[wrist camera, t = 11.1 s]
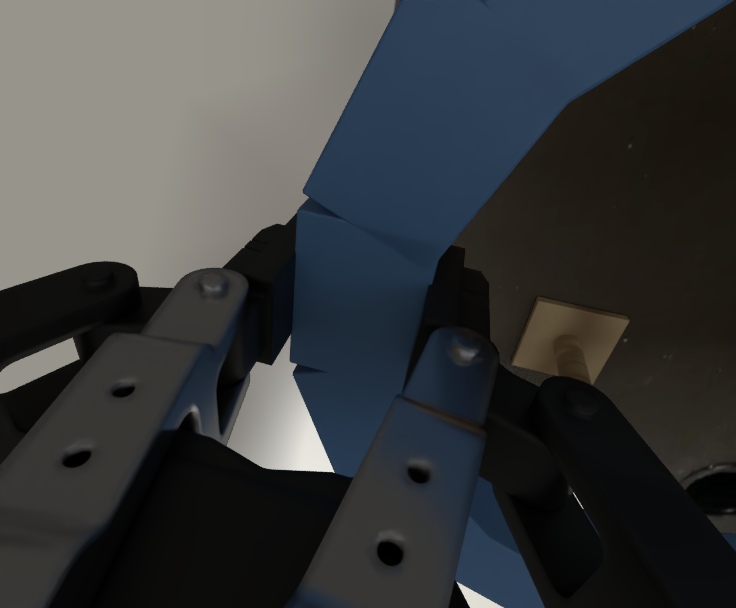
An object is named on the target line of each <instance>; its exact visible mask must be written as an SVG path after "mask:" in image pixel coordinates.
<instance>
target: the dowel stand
mask: <svg viewBox="0 0 736 608" xmlns="http://www.w3.org/2000/svg"><path fill="white" fill-rule="evenodd" d="M628 323H629V319H628V317H627V316H624V315H619V314H615V313H610V312H606V311H601V310H597V309H592V308H588V307H583V306H579V305H574V304H570V303H565V302H561V301H556V300H552V299H547V298H542V297H537V299H536V302H535V304H534V307H533V309H532V311H531V314H530V316H529V319H528V321H527V324H526V326H525V329H524V331H523V333H522V336H521V338H520V341H519V343H518V346H517V348H516V351H515V353H514V355H513V358H512V365H514V366H518V367H522V368H527V369H531V370H535V371H539V372H543V373H547V374H551V375H555V376H566V377H571V378H575V379H578V380H581V381H584V382H586V383H588V384H590V385H592V384H593V383H594V382H595V380H596V378H597V377H598V375H599V373H600V371H601V370H602V368H603V366H604V364H605V363H606V361H607V359H608V358H609V356H610V354H611V352H612V351H613V349H614V347H615V345H616V344H617V342H618V340H619V338H620V337H621V335H622V333H623V332H624V330H625V328H626V326H627V325H628Z"/></svg>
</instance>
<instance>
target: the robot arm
mask: <svg viewBox="0 0 736 608" xmlns="http://www.w3.org/2000/svg"><path fill="white" fill-rule="evenodd" d="M296 224H297V213H296V214H295V216H293V218H292V219H291V220H290V221H289V222H288V223H287V224H286V225H281V224H275V225H272V226H270V227H267V228H265V229H262V230H261V231H260V232H259V233H258V234H257V235H256V236H255V237H254V238H253V239H252V241H249V242H248V243H247V245H245V248H242V249H241V250H240V251H239V252H238V253H237V254H236V255H235V256H234V257H233V258H232V259H231V260H230V261H229V262H228V263H227V264H226V265H225V266H224V267H223V268H206V269H200V270H196V271H193V272H191V273H189V274H187V275H185V276H184V277H183V278H181V279H180V281H179V282H178V283H177V284H176V286H175V287H174V288H158V287H139V282H138V277H137V273H136V271H135V270H134V269H133V268H132V267H130V266H128V265H126V264H122V263H118V262H107V261H106V262H105V261H104V262H92V263H87V264H84V265H79V266H77V267H73V268H70V269H67V270H64V271H61V272H57V273H54V274H51V275H48V276H45V277H42V278H39V279H35V280H33V281H29V282H26V283H23V284H20V285H16V286H13V287H10V288H7V289H4V290H1V291H0V372H1V371H2V370H3V369H4V368H5V367H6V366H8V365H10V364H11V363H13V362H15V361H18V360H20V359H22V358H25V357H27V356H30V355H32V354H34V353H37V352H39V351H41V350H44V349H46V348H48V347H51V346H53V345H56V344H58V343H60V342H63V341H65V340H67V339H70V338H72V337H73V339H74V343H75V346H76V349H77V352H78V355H79V358H80V359H79V360H77V361H75V362H73V363H70V364H68V365H66V366H64V367H61V368H59V369H57V370H55V371H53V372H51V373H48V374H46V375H44V376H42V377H40V378H38V379H36V380H33V381H31V382H29V383H27V384H25V385H23V386H20V387H18V388H16V389H14V390H12V391H9V392H7V393H2V394H0V608H470V607H469V605H468V603H467V601H466V599H465V598H464V595H463V594H462V592H461V590H460V588H459V586H458V584H457V582H456V580H455V576H456V572H457V567H458V563H459V558H460V554H461V550H462V545H463V541H464V536H465V532H466V528H467V523H468V519H469V514H470V510H471V506H472V501H473V497H474V492H475V488H476V483H477V479H478V476H480V477H482V478H483V479H485V480H487V481H489V482H490V483H492V489H493V493H494V496H495V498H496V500H497V503H498V505H499V507H500V509H501V512H502V514H503V516H504V518H505V520H506V523H507V525H508V527H509V529H510V532H511V534H512V536H513V538H514V540H515V543H516V545H517V547H518V549H519V552H520V554H521V556H522V558H523V560H524V563H525V565H526V567H527V569H528V571H529V574H530V576H531V578H532V580H533V583H534V585H535V587H536V589H537V591H538V594H539V596H540V598H541V600H542V603H543V605H544V607H545V608H736V551H735V550H734V549H733V548H732V547H731V545H730V544H729V543H728V542H727V540H726V539H725V538H724V537H723V536H722V534H721V533H720V532H719V531H718V530H717V528H716V527H715V526H714V525H713V524H712V522H711V521H710V520H709V519H708V517H707V516H706V515H705V514H704V513H703V511H702V510H701V509H700V508H699V507H698V505H697V504H696V503H695V502H694V501H693V499H692V498H691V497H690V496H689V494H688V493H687V492H686V491H685V490H684V488H683V487H682V486H681V485H680V484H679V482H678V481H677V480H676V479H675V478H674V476H673V475H672V474H671V473H670V471H669V470H668V469H667V468H666V467H665V465H664V464H663V463H662V462H661V461H660V459H659V458H658V457H657V456H656V455H655V453H654V452H653V451H652V450H651V448H650V447H649V446H648V445H647V444H646V442H645V441H644V440H643V439H642V438H641V436H640V435H639V434H638V433H637V432H636V430H635V429H634V428H633V427H632V425H631V424H630V423H629V422H628V421H627V419H626V418H625V417H624V416H623V415H622V413H621V412H620V411H619V410H618V409H617V407H616V406H615V405H614V404H613V403H612V401H611V400H610V399H609V398H608V397H607V396H606V395H604V394H603V393H602V392H601V391H599V390H598V389H597V388H595V387H593V386H592V385H590V384H588V383H586V382H584V381H581V380H578V379H575V378H571V377H566V376H554V377H550V378H548V379H546V380H544V381H543V382H542V384H541V386H540V387H538V386H536V385H534V384H532V383H530V382H528V381H526V380H524V379H522V378H520V377H518V376H516V375H515V374H513V373H511V372H510V371H508V370H507V369H506V368H505V367H503V366H502V365H501V364H500V363H499V361H500V356H499V352H498V350H497V348H496V346H495V345H494V344H493V343H492V342H491V341H490V312H489V283H488V281H487V280H486V278H485V277H484V275H483V274H482V272H481V271H478V270H473V269H469V268H465V267H464V256H465V248H461V247H456V246H452V245H450V247H449V248H448V249H447V250H446V251H445V253H444V254H443V255H442V256H441V258H440V259H439V261H438V265H437V268H436V272H435V276H434V279H433V283H432V285H429V287H428V291H427V294H426V298H425V302H424V306H423V309H422V313H421V317H420V321H419V324H418V328H417V332H416V336H415V340H414V343H413V347H412V351H411V355H410V358H409V362H408V367H407V371H406V376H405V381H404V385H403V390H402V394H397V395H396V396H395V398H394V399H393V401H392V403H391V405H390V407H389V409H388V411H387V413H386V415H385V417H384V419H383V421H382V423H381V425H380V427H379V429H378V431H377V433H376V435H375V437H374V439H373V441H372V443H371V445H370V447H369V449H368V451H367V453H366V455H365V457H364V459H363V461H362V462H361V464H360V466H359V468H358V470H357V472H356V474H355V476H354V478H351V477H347V476H344V475H340V474H337V473H333V472H314V471H293V470H272V469H266V468H262V467H260V466H258V465H257V464H255V463H253V462H252V461H250V460H248V459H247V458H245V457H243V456H242V455H240V454H238V453H237V452H235V451H233V450H232V449H230V448H228V447H227V443H228V440H229V438H230V435H231V432H232V430H233V427H234V424H235V422H236V418H237V416H238V413H239V410H240V408H241V405H242V403H243V400H244V397H245V395H246V392H247V389H248V387H249V383H250V371H251V369H252V368H253V366H254V364H255V363H256V361H257V362H261V363H265V364H268V365H272V364H273V363H274V361H275V359H276V358H277V356H278V354H279V353H280V351H281V349H282V348H283V346H284V344H285V343H286V341H287V339H288V338H289V336H290V334H291V333H292V321H293V302H294V284H295V265H296V252H295V244H296ZM573 492H574V494H575V495H576V497H577V498H578V500H579V502H580V503H581V505H582V507H583V508H584V510H585V512H586V513H587V515H588V517H589V518H590V520H591V522H592V523H593V525H594V526H595V528H596V530H597V532H598V534H599V535H598V534H597V532H596V530H595V529H594V527H593V525H592V524H591V522H590V520H589V519H588V517H587V516H586V514H585V512H584V511H583V509H582V507H581V506H580V504H579V502H578V501H577V499H576V497H575V496H574V494H573ZM599 536H600V537H599Z"/></svg>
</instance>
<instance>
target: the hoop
mask: <svg viewBox="0 0 736 608" xmlns="http://www.w3.org/2000/svg"><path fill="white" fill-rule="evenodd" d="M732 1H734V0H400V2H399V4H398V6H397V8H396V10H395V12H394V14H393V16H392V18H391V20H390V22H389V23H388V26H387V27H386V29H385V31H384V33H383V35H382V37H381V39H380V41H379V43H378V45H377V47H376V49H375V51H374V53H373V55H372V56H371V59H370V60H369V63H368V64H367V67H366V68H365V70H364V72H363V74H362V76H361V78H360V80H359V82H358V84H357V86H356V88H355V89H354V92H353V93H352V95H351V97H350V99H349V101H348V103H347V105H346V107H345V109H344V111H343V113H342V115H341V117H340V119H339V121H338V122H337V125H336V126H335V128H334V130H333V132H332V134H331V136H330V138H329V140H328V142H327V144H326V146H325V148H324V150H323V152H322V154H321V156H320V158H319V159H318V161H317V163H316V165H315V167H314V169H313V171H312V173H311V175H310V177H309V179H308V181H307V183H306V185H305V187H304V189H303V193H304V194H305V195H307V196H308V197H309V199H307V200H306V201H305V203H304V204H303V205H302V206H301V207H300V208H299V209H298V210H297V224H296V244H295V252H296V265H295V284H294V302H293V321H292V333H291V345H290V362H292V363H296V364H297V366H296V368H295V370H294V371H293V376H294V379H295V381H296V383H297V386H298V388H299V390H300V392H301V395H302V397H303V399H304V402H305V404H306V407H307V409H308V411H309V413H310V416H311V418H312V421H313V423H314V425H315V428H316V430H317V432H318V435H319V437H320V439H321V441H322V444H323V446H324V449H325V451H326V453H327V456H328V458H329V460H330V463H331V465H332V467H333V470H334V472H335V473H337V474H340V475H344V476H347V477H351V478H354V476H355V474H356V472H357V470H358V468H359V466H360V464H361V462H362V461H363V459H364V457H365V455H366V453H367V451H368V449H369V447H370V445H371V443H372V441H373V439H374V437H375V435H376V433H377V431H378V429H379V427H380V425H381V423H382V421H383V419H384V417H385V415H386V413H387V411H388V409H389V407H390V405H391V403H392V401H393V399H394V398H395V396H396V395H397V394H402V390H403V385H404V381H405V376H406V371H407V367H408V362H409V358H410V355H411V351H412V347H413V343H414V340H415V336H416V332H417V328H418V324H419V321H420V317H421V313H422V309H423V306H424V302H425V298H426V294H427V291H428V287H429V285H432V283H433V279H434V276H435V272H436V268H437V265H438V261H439V259H440V258H441V256H442V255H443V254H444V253H445V251H446V250H447V249H448V248H449V247H450V245H451V244H452V243H453V242H454V241H455V239H456V238H457V237H458V236H459V235H460V233H461V232H462V231H463V230H464V229H465V227H466V226H467V225H468V224H469V222H470V221H471V220H472V219H473V218H474V216H475V215H476V214H477V213H478V212H479V210H480V209H481V208H482V207H483V206H484V204H485V203H486V202H487V201H488V199H489V198H490V197H491V196H492V195H493V193H494V192H495V191H496V190H497V189H498V187H499V186H500V185H501V184H502V183H503V181H504V180H505V179H506V178H507V177H508V175H509V174H510V173H511V172H512V170H513V169H514V168H515V167H516V166H517V164H518V163H519V162H520V161H521V160H522V158H523V157H524V156H525V155H526V154H527V152H528V151H529V150H530V149H531V147H532V146H533V145H534V144H535V143H536V141H537V140H538V139H539V138H540V137H541V135H542V134H543V133H544V132H545V131H546V129H547V128H548V127H549V126H550V125H551V123H552V122H553V121H554V120H555V118H556V117H557V116H558V115H559V114H560V112H561V111H562V110H563V109H564V108H565V106H566V105H567V104H569V103H570V102H572V101H573V100H575V99H577V98H578V97H580V96H581V95H583V94H585V93H586V92H588V91H589V90H591V89H593V88H594V87H596V86H597V85H599V84H601V83H602V82H604V81H606V80H607V79H609V78H610V77H612V76H614V75H615V74H617V73H618V72H620V71H622V70H623V69H625V68H626V67H628V66H630V65H631V64H633V63H634V62H636V61H638V60H639V59H641V58H642V57H644V56H646V55H647V54H649V53H651V52H652V51H654V50H655V49H657V48H659V47H660V46H662V45H663V44H665V43H667V42H668V41H670V40H671V39H673V38H675V37H676V36H678V35H679V34H681V33H683V32H684V31H686V30H687V29H689V28H691V27H692V26H694V25H696V24H697V23H699V22H700V21H702V20H704V19H705V18H707V17H708V16H710V15H712V14H713V13H715V12H716V11H718V10H720V9H721V8H723V7H724V6H726V5H728V4H729V3H731V2H732ZM583 511H584V512H585V510H584V509H583ZM585 514H586V516H587V517H588V515H587V513H586V512H585ZM588 519H589V520H590V518H589V517H588ZM590 522H591V520H590ZM591 524H592V525H593V523H592V522H591ZM593 527H594V529H595V530H596V528H595V526H594V525H593ZM596 532H597V530H596ZM597 534H598V532H597ZM721 534H722V536H723V537H724V538H725V539H726V540H727V542H728V543H729V544H730V545H731V547H732V548H733V549H734V550H735V551H736V534H733V533H721ZM598 535H599V534H598ZM599 537H600V536H599ZM455 580H456V581H457V582H458V583H460V584H462V585H464V586H466V587H468V588H469V589H471V590H473V591H475V592H477V593H478V594H481V595H482V596H484V597H486V598H487V599H489V600H491V601H493V602H495V603H497V604H498V605H500V606H502V607H504V608H545V607H544V605H543V603H542V600H541V598H540V596H539V594H538V591H537V589H536V587H535V585H534V583H533V580H532V578H531V576H530V574H529V571H528V569H527V567H526V565H525V563H524V560H523V558H522V556H521V554H520V552H519V549H518V547H517V545H516V543H515V540H514V538H513V536H512V534H511V532H510V529H509V527H508V525H507V523H506V520H505V518H504V516H503V514H502V512H501V509H500V507H499V505H498V503H497V500H496V498H495V496H494V493H493V489H492V483H490V482H489V481H487V480H485V479H483V478H482V477H480V476H478V479H477V483H476V488H475V492H474V497H473V501H472V506H471V510H470V514H469V519H468V523H467V528H466V532H465V536H464V541H463V545H462V550H461V554H460V558H459V563H458V567H457V572H456V576H455Z"/></svg>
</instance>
